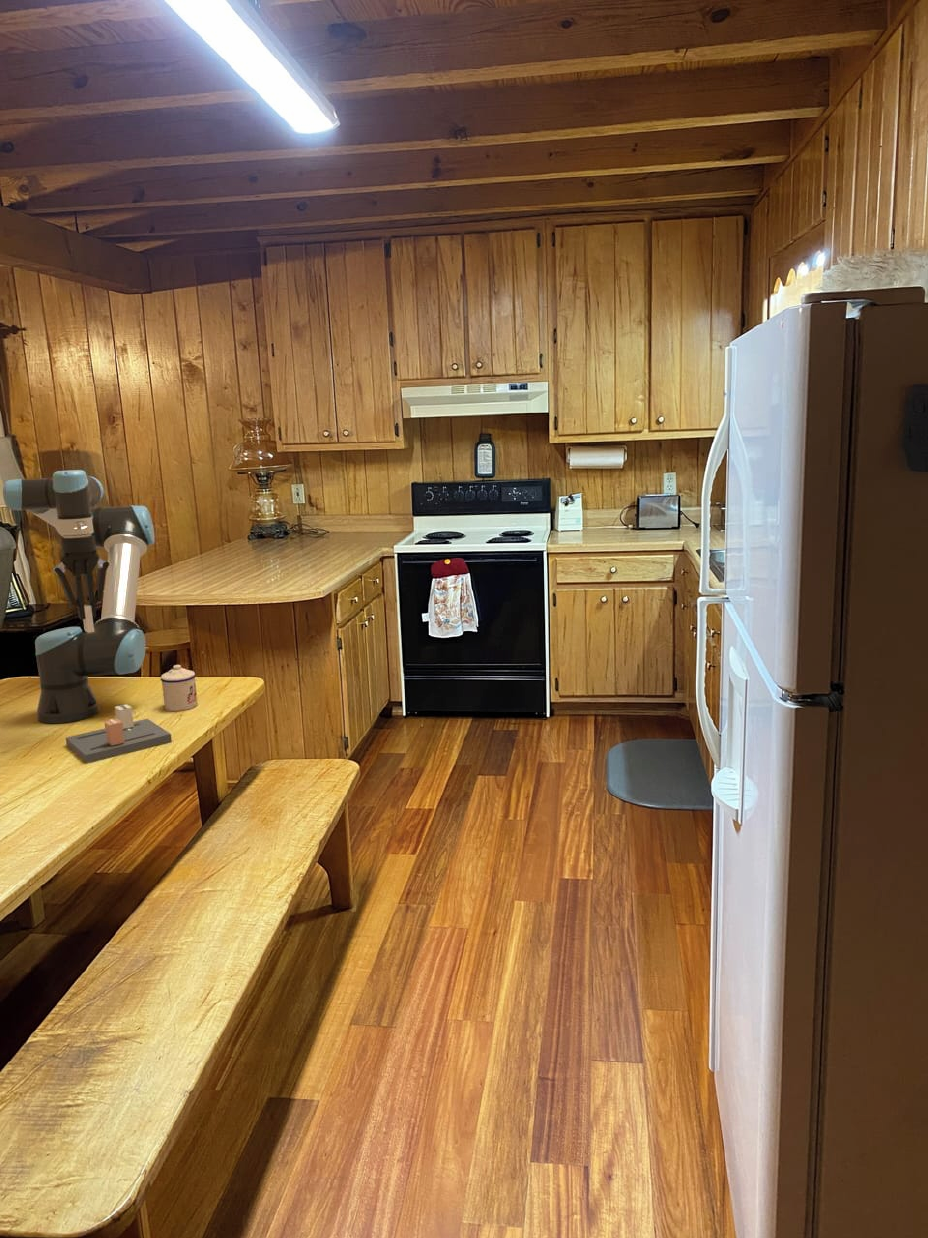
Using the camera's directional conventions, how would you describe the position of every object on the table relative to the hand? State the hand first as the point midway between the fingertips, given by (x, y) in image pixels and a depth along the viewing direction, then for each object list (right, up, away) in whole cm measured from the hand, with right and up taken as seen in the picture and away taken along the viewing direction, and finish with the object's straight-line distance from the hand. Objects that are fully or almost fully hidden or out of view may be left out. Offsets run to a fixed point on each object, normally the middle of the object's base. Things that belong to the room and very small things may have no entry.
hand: (89, 631), depth 220 cm
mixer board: (+8, -27, -2) cm, 29 cm away
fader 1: (+10, -26, -8) cm, 29 cm away
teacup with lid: (+15, -21, +26) cm, 37 cm away
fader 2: (+8, -24, +3) cm, 25 cm away
